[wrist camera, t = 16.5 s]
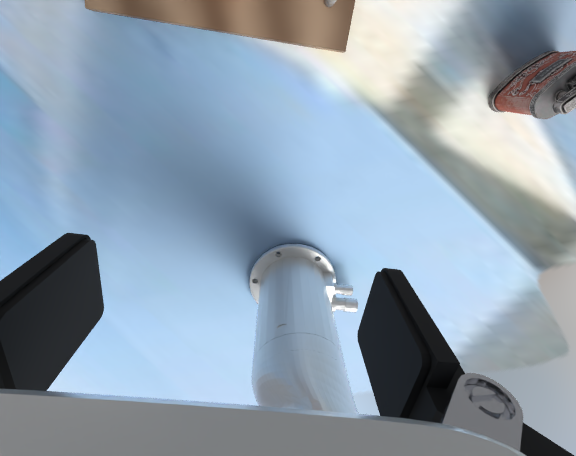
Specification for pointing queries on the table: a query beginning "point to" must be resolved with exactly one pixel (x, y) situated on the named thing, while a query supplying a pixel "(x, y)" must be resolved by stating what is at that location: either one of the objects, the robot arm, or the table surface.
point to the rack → (248, 18)
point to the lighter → (539, 87)
